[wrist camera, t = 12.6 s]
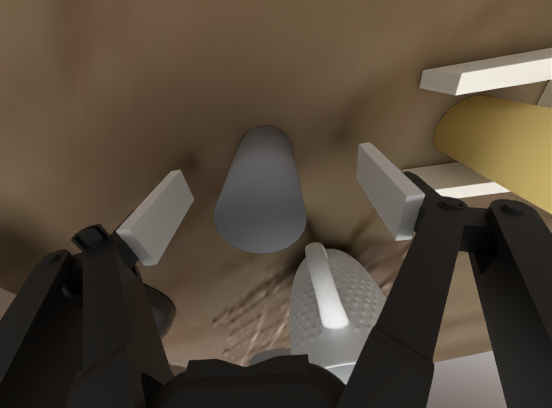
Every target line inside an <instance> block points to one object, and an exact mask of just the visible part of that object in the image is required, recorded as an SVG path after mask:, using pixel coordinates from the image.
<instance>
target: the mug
mask: <svg viewBox="0 0 552 408" xmlns="http://www.w3.org/2000/svg"><path fill="white" fill-rule="evenodd" d="M305 254H306V258H305V259H304V260H303V261H302V263H301V264H300V266H299V268H298V270H297V272H296V275H295V277H294V281H293V286H292V290H291V299H290V311H289V315H290V316H289V317H290V320H289V322H290V324H289V327H290V344H291V347H290V350H291V355H301V354H308V359H309V362H310V363H313V364H317V365H319V366H321V367H323V368H325V369H327V370H329V371H330V372H332V373H333V374H334V375H336V376H337V377H338V378H339V379H340V380H341V381H342V382H343V383H344V384H345V385H346V384H347V382H348V380H349V377H350V375H351V373H352V371H353V368H354V366H355V364H356V362H357V360H358V357H359V355H360V353H361V351H362V349H363V346H364V344H365V342H366V340H367V338H368V335H369V333H370V331H371V329H372V328H373V326H375V324H376V322H377V320H378V318H379V315H380V313H381V311H382V309H383V306H384V304H385V302H386V300H387V299H386V298H385V297H384V295H383V293H382V291H381V289H380V288H379V286H378V285H377V284H376V282H375V281H374V279H373V278H372V277H371V276H370V274H369V273H368V272H367V270H365V269H364V267H363V266H362V265H361V264H360V263H359V262H358V261H357V260H356V259H354V258H353V257H351V256H350V255H348V254H347V253H345V252H343V251H340V250H337V249H324V247H323V245H322V244H321V243H319V242H314V243H310V244H308V245H307V246H306V247H305Z"/></svg>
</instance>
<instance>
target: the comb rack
mask: <svg viewBox="0 0 552 408" xmlns="http://www.w3.org/2000/svg"><path fill="white" fill-rule="evenodd" d="M546 80H549V82H548V84H547V86H546V88H545V89H544V91H543V93H542V95H541V97H540V99H539V101H538V103H537V106H543V107H548V108H552V48H547V49H541V50H535V51H530V52H524V53H518V54H513V55H507V56H501V57H495V58H490V59H484V60H478V61H473V62H467V63H461V64H456V65H450V66H444V67H438V68H433V69H427V70H423V72H422V77H421V82H420V87H419V88H422V89H427V90H432V91H436V92H441V93H446V94H451V95H461V94H467V93H473V92H479V91H485V90H491V89H497V88H503V87H509V86H515V85H521V84H528V83H534V82H540V81H546ZM405 171H409V172H411V173H414V174H416V175H418V176H419V177H420V178H421V179H422V181H425V182H426V183H427V185H429V186H430V187H432V188H433V189H434V190H435V191H436V192H437V193H439V194H440V195H441V196H447V197H453V198H463V197H471V196H479V195H487V194H495V193H502V192H510V191H509V190H508V189H506V188H504V187H502V186H500V185H499V184H497V183H495V182H493V181H492V180H490V179H488V178H486V177H484V176H483V175H481V174H479V173H477V172H476V171H474V170H472V169H470V168H468V167H467V166H465V165H463V164H461V163H460V162H454V163H447V164H440V165H433V166H426V167H419V168H411V169H404V170H402V172H405Z"/></svg>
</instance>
